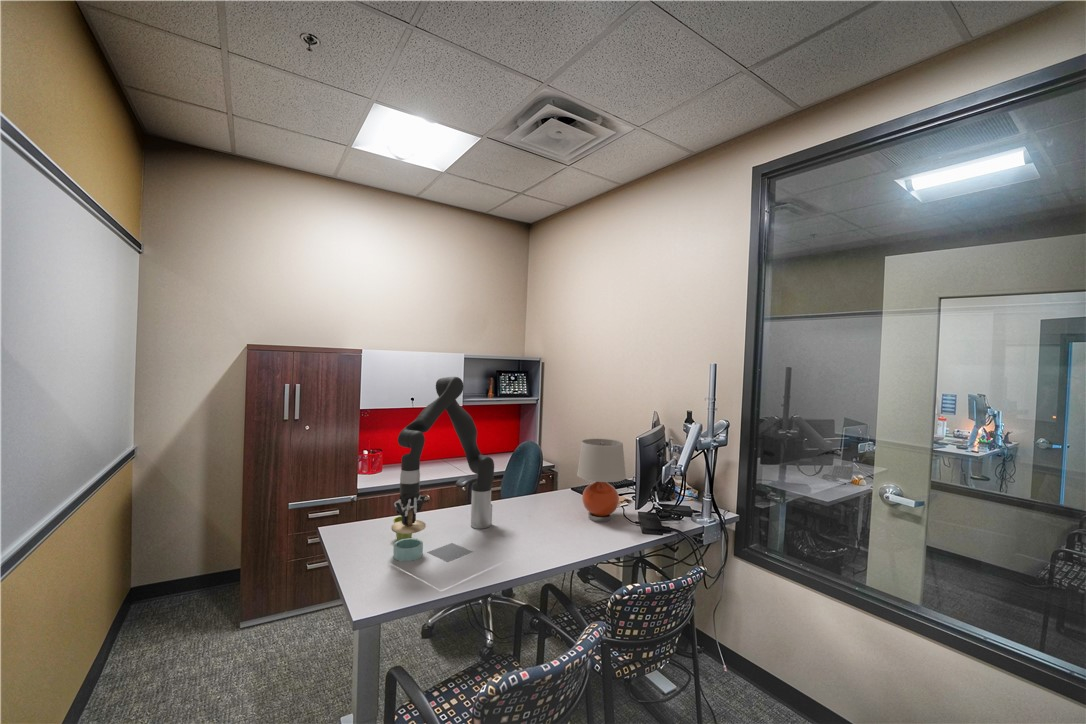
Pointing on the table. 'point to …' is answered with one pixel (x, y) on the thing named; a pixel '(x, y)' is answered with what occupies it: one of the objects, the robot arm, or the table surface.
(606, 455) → the lamp
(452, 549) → the mat
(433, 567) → the table surface
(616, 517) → the table surface
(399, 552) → the bowl
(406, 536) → the plant pot
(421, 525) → the lid
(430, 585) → the table surface
